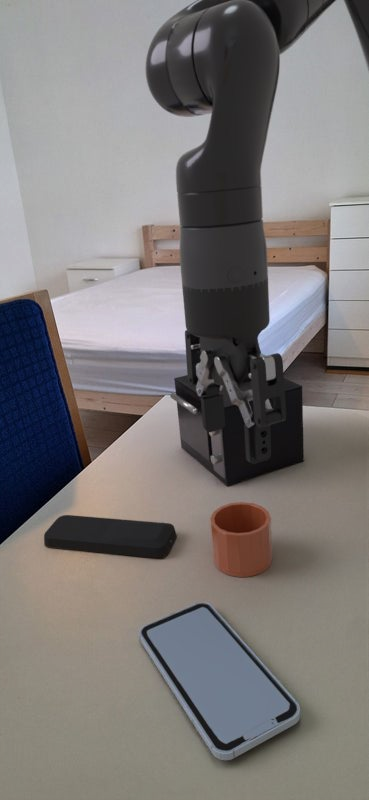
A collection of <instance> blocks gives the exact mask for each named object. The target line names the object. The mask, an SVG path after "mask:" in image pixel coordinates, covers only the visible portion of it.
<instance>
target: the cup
mask: <svg viewBox="0 0 369 800" xmlns="http://www.w3.org/2000/svg"><path fill="white" fill-rule="evenodd" d="M209 521H210V522H209V523H210V533H211V546H212V555H213V562H214V565H215V567H216V568H217V569H218V570H219V572H221V573H223V574H225V575H227V576H231V577H235V578H248V577H254V576H257V575H260V574H262V573H264V572H265V571H266V570H267V569H269V568H270V566H271V565H272V562H273V535H272V533H273V531H272V516H271V514H270V512H269V511H268V510H267V509H266V508H264V507H263V506H262V505H259V504H256V503H254V502H245V501H239V502H231V503H227V504H224V505H222V506H220V507H218V508H217V509H215V510H214V511H213V512H212V514H211V516H210V517H209Z"/></svg>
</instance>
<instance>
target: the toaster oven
mask: <svg viewBox="0 0 369 800" xmlns="http://www.w3.org/2000/svg"><path fill="white" fill-rule="evenodd" d="M173 380H174V387H175V388H174V390H175V392H171V393H170V396H169V397H170V398H171V399H172V400H174V401H175V402H176V406H177V407H176V409H177V419H178V427H179V428H178V429H179V437H180V438H179V439H180V447H181V449H183V450H184V451H185V452H186V453H187V454H189V456H190V457H192V458H193V459H194V460H195V461H197V463H199V464H200V465H201V466H203V467H204V468H205V469H206V470H207V471H209V472H210V473H211V474H212V475H213V476H215V478H217V479H218V480H219V481H220V482H221V483H222V484H223V485H225V486H226V487H230V486H233V485H236V484H239V483H242V482H245V481H249V480H251V479H254V478H258V477H261V476H263V475H267V474H270V473H272V472H275V471H279V470H281V469H285V468H288V467H291V466H294V465H297V464H300V463H303V462H304V461H305V457H304V456H305V454H304V453H305V452H304V417H303V416H304V408H303V406H304V403H303V386H302V385H301V384H299V383H296V382H294V381H292V380H290V379H288V378H286V377H284V389H285V404H286V420H285V421H281V422H278V423H275V424H271V425H270V434H271V456H270V458H269V459H268V460H266V461H262V462H259V463H256V464H252V463H250V462H249V461H248V460H247V459H246V446H245V428H244V425H246V424H245V422H244V419H243V417H242V414H241V411H240V409H239V407H238V406H237V405H234V404H233V403H232V402H231V399H230V397H229V394H228V392H227V390H226V389H225V388H224V387H223V389H222V391H220V392H219V393H221V394H223V401H224V415H225V426H224V428H223V429H220V430H217V431H213V432H207V431H206V430H205V429H204V428H203V419H202V407H201V396H198V394H197V392H196V385H193V386H190V384H189V382H188V376H187V374H186V375H181V376H178V377H174V378H173ZM250 389H252V384H251V385H250V386H249V387H248V388H244V389H240V390H241V391H246V390H250ZM269 401H270V404H271V407H272V409H274V408H273V398H270V399H269ZM248 402H249V404H250V407H251V409H252V412H254V407H253V400H252V401H248Z"/></svg>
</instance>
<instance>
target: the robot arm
mask: <svg viewBox="0 0 369 800" xmlns="http://www.w3.org/2000/svg"><path fill="white" fill-rule="evenodd" d="M336 2H337V0H195V1H194V2H192V3H190V4H189V5H187V6H185V7H183V8H182V9H180V10H179V11H178V12H177V13H175V14H174V15H172V16H171V17H170V18H168V19H167V20H166V21H165V22H164V23H163V24H162V25H161V26H160V27H159V28H158V30H157V31H156V32H155V34H154V36H153V38H152V39H151V41H150V45H149V46H148V49H147V54H146V58H145V68H144V69H145V70H144V71H145V79H146V84H147V87H148V90H149V92H150V94H151V96H152V99H154V101H155V102H156V103H157V105H159V107H160V108H161V109H162V110H164V111H165V112H167V113H169V114H171V115H174V116H177V117H184V118H194V117H201V116H205V115H210V120H209V125H208V129H207V133H206V137H205V139H204V140H203V142H202V143H201V144H200V145H198V146H196V147H194V148H192V149H190V150H188V151H186V152H184V153H183V154H182V155H181V156H179V158H178V160H177V162H176V166H175V185H176V193H177V194H176V195H177V208H178V219H179V266H180V276H181V288H182V298H183V311H184V322H185V323H184V324H185V329H186V330H184V343H185V358H186V373H187V374H186V375H187V376H188V382H189V384H190V386H193V385H196V392H197V394H198V396H201V407H202V419H203V428H204V429H205V430H206V431H207V432H213V431H217V430H220V429H223V428H224V426H225V415H224V401H223V394H221V393H219V392H220V391H222V389H223V387H224V388H225V389H226V390H227V392H228V394H229V397H230V399H231V402H232V403H233V404H234V405H237V406H238V407H239V409H240V411H241V414H242V417H243V419H244V422H245V424H246V425H244V428H245V446H246V459H247V460H248V461H249V462H250V463H252V464H256V463H259V462H262V461H266V460H268V459H269V458H270V456H271V434H270V425H271V424H275V423H278V422H281V421H285V420H286V404H285V389H284V378H285V375H284V361H283V356H282V355H281V354H280V353H278V352H276V353H272V354H268V355H266V354H263V353H262V350H261V347H260V343H259V336H260V335H261V333H262V332H263V331H264V330H266V329H267V328H268V326H269V324H270V320H271V318H270V295H269V291H270V290H269V270H268V269H269V268H268V267H269V266H268V265H269V264H268V245H267V239H266V234H265V228H264V220H263V218H264V214H263V213H264V212H263V211H264V210H263V187H262V164H263V159H264V154H265V149H266V144H267V140H268V135H269V128H270V123H271V119H272V113H273V110H274V104H275V100H276V99H275V98H276V94H277V89H278V84H279V77H280V67H281V66H280V65H281V55H283V54H284V53H285V52H287V51H288V50H289V49H290V48H291V47H293V45H295V44H296V43H297V41H299V39H300V38H301V37H302V36H303V35H305V33H306V32H307V31H308V30H309V29H310V28H311V27H312V26H313V25H314V24H315V23H316V22H317V21H318V19H319V18H320V17H321V16H322V15H323V14H325V13H326V12H327V10H329V8H331V6H332V5H333V4H334V3H336ZM343 3H344V4H345V7H346V10H347V13H348V15H349V18H350V20H351V23H352V26H353V28H354V31H355V34H356V37H357V39H358V42H359V46H360V49H361V52H362V56H363V59H364V62H365V65H366V68H367V72H368V73H369V0H343ZM198 364H199V365H198ZM197 365H198V367H197ZM251 384H252V389H250V390H246V391H241V390H240V389H244V388H248V387H249V386H250V385H251ZM270 398H273V408H274V409H272V407H271V404H270V401H269V399H270ZM252 400H253V407H254V412H252V409H251V407H250V404H249V402H248V401H252Z"/></svg>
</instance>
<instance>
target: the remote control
mask: <svg viewBox="0 0 369 800" xmlns="http://www.w3.org/2000/svg"><path fill="white" fill-rule="evenodd" d="M177 535H178V534H177V532H176V529H175V525H173V523H169V522H157V521H147V520H146V521H145V520H134V519H121V518H111V517H110V518H109V517H98V516H96V517H95V516H85V515H73V514H63V515H60V516H58V518H56V519H55V520H54V522H53V523H52V524H51V525H50V526H49V528H48V529H47V530H46V531H45V532H44V534H43V545H44V547H47V548H52V549H64V550H72V551H83V552H92V553H101V554H113V555H123V556H132V557H142V558H151V559H163V558H165V557H167V556H168V555H169V553H170V551H171V549H172V547H173V545H174V543H175V541H176V539H177Z"/></svg>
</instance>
